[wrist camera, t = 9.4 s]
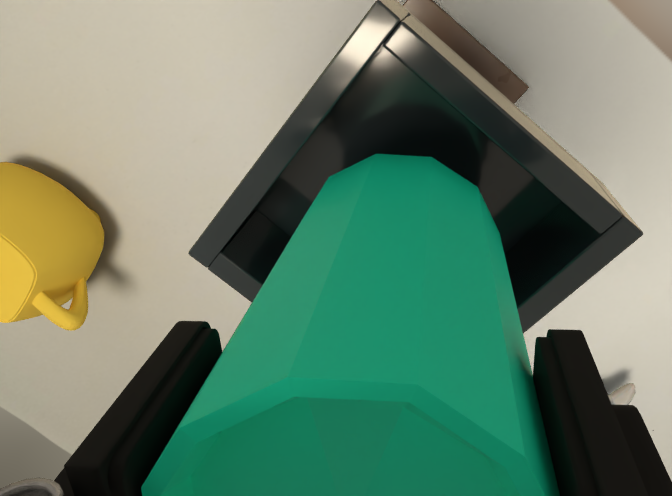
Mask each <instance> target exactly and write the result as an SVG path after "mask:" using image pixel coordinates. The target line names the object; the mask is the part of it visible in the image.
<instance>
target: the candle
mask: <svg viewBox="0 0 672 496" xmlns="http://www.w3.org/2000/svg"><path fill="white" fill-rule="evenodd" d="M141 491H142V496H560V494H559V489H558V485H557V481H556V476H555V472H554V468H553V463H552V459H551V454H550V450H549V446H548V441H547V437H546V433H545V428H544V424H543V420H542V415H541V411H540V407H539V402H538V398H537V394H536V389H535V385H534V381H533V375H532V370H531V366H530V362H529V357H528V353H527V349H526V344H525V340H524V336H523V332H522V327H521V323H520V319H519V314H518V310H517V306H516V301H515V297H514V293H513V289H512V284H511V280H510V276H509V271H508V267H507V263H506V258H505V254H504V250H503V245H502V241H501V237H500V233H499V231H498V229H497V227H496V224H495V222H494V220H493V218H492V216H491V214H490V212H489V210H488V208H487V205H486V203H485V201H484V199H483V197H482V195H481V193H480V191H479V189H478V187H477V186H476V185H474V184H473V183H471V182H469V181H468V180H466V179H465V178H463V177H462V176H460V175H459V174H457V173H456V172H454V171H453V170H451V169H449V168H448V167H446V166H445V165H443V164H442V163H440V162H439V161H437V160H436V159H434V158H433V157H425V156H408V155H391V154H374V155H372V156H370V157H368V158H366V159H364V160H362V161H360V162H358V163H356V164H354V165H352V166H350V167H348V168H346V169H344V170H342V171H340V172H338V173H336V174H334V175H332V176H330V177H328V179H327V181H326V182H325V184H324V185H323V187H322V189H321V190H320V192H319V193H318V195H317V197H316V198H315V200H314V201H313V203H312V204H311V206H310V208H309V209H308V211H307V212H306V214H305V216H304V217H303V219H302V220H301V222H300V224H299V225H298V227H297V229H296V230H295V232H294V234H293V235H292V237H291V239H290V240H289V242H288V244H287V245H286V247H285V249H284V250H283V252H282V254H281V255H280V257H279V259H278V260H277V262H276V264H275V265H274V267H273V269H272V270H271V272H270V274H269V275H268V277H267V279H266V280H265V282H264V284H263V285H262V287H261V289H260V290H259V292H258V294H257V295H256V297H255V299H254V300H253V302H252V304H251V305H250V307H249V309H248V310H247V312H246V314H245V315H244V317H243V319H242V320H241V322H240V324H239V325H238V327H237V329H236V330H235V332H234V334H233V335H232V337H231V339H230V340H229V342H228V344H227V345H226V347H225V349H224V350H223V352H222V354H221V355H220V357H219V359H218V360H217V362H216V364H215V365H214V367H213V369H212V370H211V372H210V374H209V375H208V377H207V379H206V380H205V382H204V384H203V385H202V387H201V389H200V390H199V392H198V394H197V395H196V397H195V399H194V400H193V402H192V404H191V405H190V407H189V409H188V410H187V412H186V414H185V415H184V417H183V419H182V420H181V422H180V424H179V425H178V427H177V429H176V430H175V432H174V434H173V435H172V437H171V439H170V440H169V442H168V444H167V445H166V447H165V449H164V450H163V452H162V454H161V455H160V457H159V459H158V460H157V462H156V464H155V465H154V467H153V469H152V470H151V472H150V474H149V475H148V477H147V479H146V480H145V482H144V484H143V485H142V487H141Z"/></svg>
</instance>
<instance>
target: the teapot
mask: <svg viewBox="0 0 672 496" xmlns="http://www.w3.org/2000/svg"><path fill="white" fill-rule="evenodd" d="M103 244H104V230H103V227H102V225H101V220H100V217H99V216H98V214H97V213H96V212H95V211H93V210H91V209H89V208H88V207H87V206H86V205H85V204H84V203H83V202H82V201H81V200H80V199H79V198H77V197H76V196H75V195H74V194H73V193H72V192H70V191H69V190H68V189H67V188H65V187H64V186H62V185H61V184H59V183H58V182H56V181H54V180H53V179H51V178H49V177H47V176H45V175H44V174H42V173H41V172H38V171H35V170H33V169H30V168H28V167H25V166H22V165H19V164H14V163H8V162H1V163H0V322H3V323H8V322H15V321H20V320H25V319H29V318H33V317H37V316H40V315H45V316H46V317H47V318H48V319H49V320H51V321H52V322H53V323H54V324H56V325H58V326H59V327H61V328H63V329H66V330H76V329H78V328H80V327H81V326H82V324H83V323H84V321H85V319H86V316H87V313H88V295H87V286H86V281H87V280H88V278H89V277H90V275H91V274H92V272H93V270H94V268H95V266H96V264H97V262H98V260H99V257H100V255H101V252H102V249H103ZM71 298H73V300H72V303H71V306H70V308H69V310H67V309H65V308H63V307H61V305H63V304H64V303H66V302H68V301H69V300H70V299H71Z"/></svg>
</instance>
